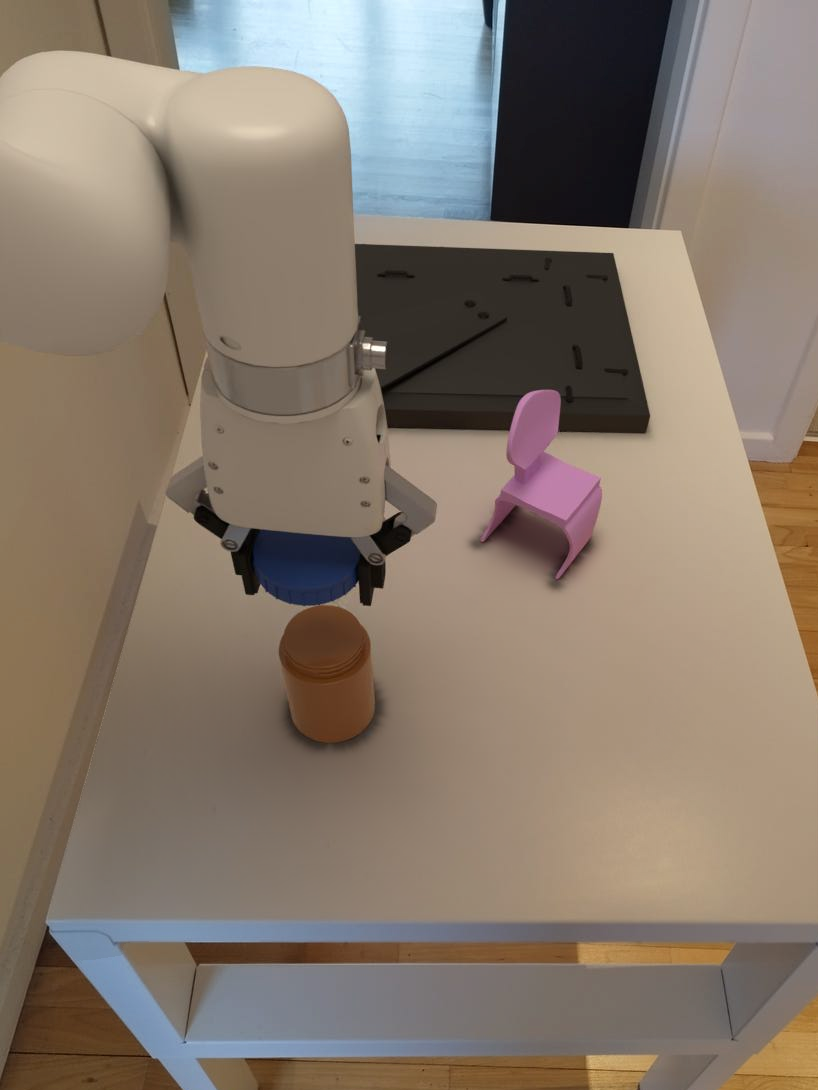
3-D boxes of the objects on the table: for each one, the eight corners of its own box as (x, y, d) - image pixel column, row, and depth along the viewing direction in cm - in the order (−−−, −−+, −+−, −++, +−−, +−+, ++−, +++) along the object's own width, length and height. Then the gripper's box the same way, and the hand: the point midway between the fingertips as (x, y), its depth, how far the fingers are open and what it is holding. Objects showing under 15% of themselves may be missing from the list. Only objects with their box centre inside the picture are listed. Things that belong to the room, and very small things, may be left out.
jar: (290, 746, 70) (274, 676, 62) (291, 675, 74) (277, 601, 66) (376, 740, 70) (371, 670, 63) (373, 671, 74) (368, 597, 67)
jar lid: (385, 575, 59) (385, 557, 57) (291, 624, 56) (288, 606, 54) (327, 511, 62) (325, 493, 60) (235, 554, 59) (231, 536, 57)
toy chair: (557, 589, 81) (581, 461, 69) (473, 547, 83) (483, 417, 71) (600, 533, 85) (630, 404, 73) (519, 495, 88) (535, 364, 76)
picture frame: (273, 424, 92) (645, 433, 94) (268, 395, 89) (653, 405, 92) (299, 259, 110) (610, 270, 113) (296, 230, 108) (615, 242, 110)
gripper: (461, 327, 48) (448, 555, 63) (135, 295, 48) (195, 531, 62) (449, 418, 44) (438, 641, 58) (89, 383, 44) (165, 616, 58)
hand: (312, 582), depth 60 cm, fingers closed on jar lid, 6 cm apart
